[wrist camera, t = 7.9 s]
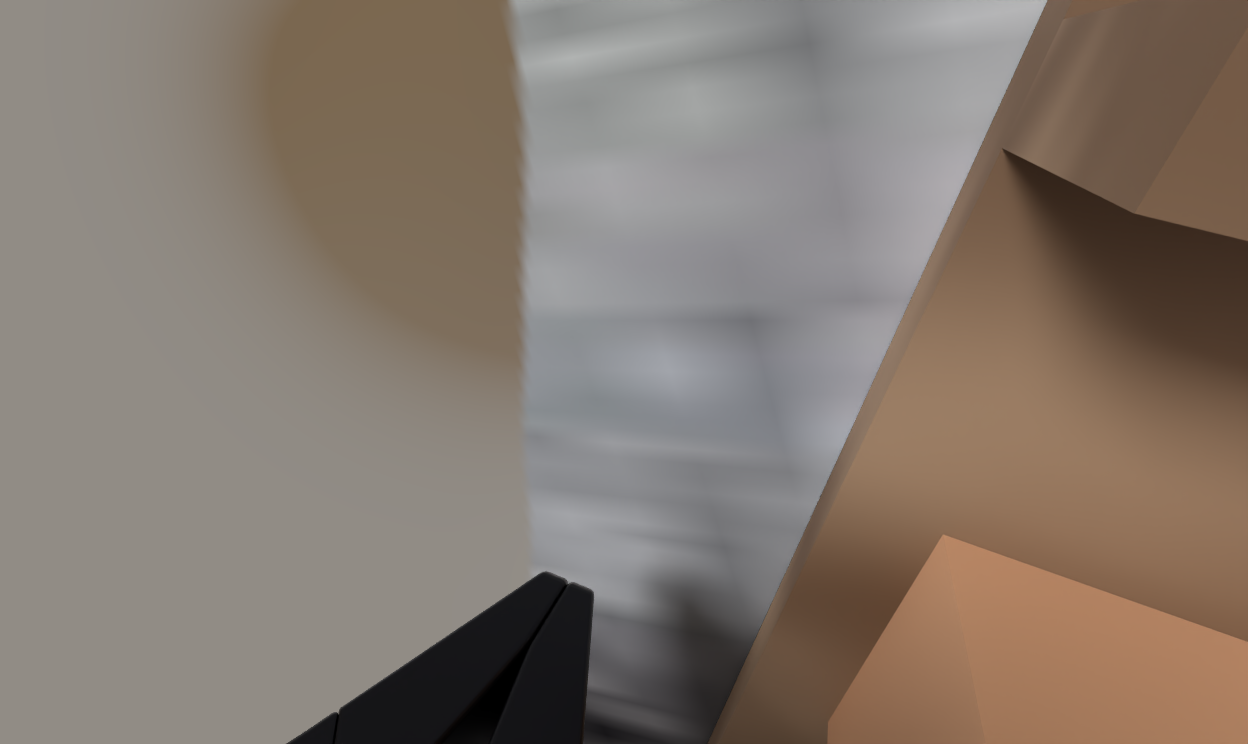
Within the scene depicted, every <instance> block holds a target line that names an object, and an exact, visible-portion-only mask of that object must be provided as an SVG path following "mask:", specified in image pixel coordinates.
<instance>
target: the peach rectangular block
mask: <svg viewBox="0 0 1248 744" xmlns="http://www.w3.org/2000/svg"><path fill="white" fill-rule="evenodd" d="M827 744H1248V642H1247V641H1244V640H1241V639H1238V638H1235V637H1232V636H1230V635H1227V634H1224V633H1221V632H1218V631H1215V630H1213V629H1210V628H1207V627H1204V626H1201V625H1198V624H1196V623H1193V622H1190V621H1187V620H1184V619H1181V618H1179V617H1176V616H1173V615H1170V614H1167V613H1164V612H1162V611H1159V610H1156V609H1153V608H1150V607H1147V606H1145V605H1142V604H1139V603H1136V602H1133V601H1130V600H1128V599H1125V598H1122V597H1119V596H1116V595H1113V594H1110V593H1108V592H1105V591H1102V590H1099V589H1096V588H1093V587H1091V586H1088V585H1085V584H1082V583H1079V582H1076V581H1074V580H1071V579H1068V578H1065V577H1062V576H1059V575H1057V574H1054V573H1051V572H1048V571H1045V570H1042V569H1040V568H1037V567H1034V566H1031V565H1028V564H1025V563H1023V562H1020V561H1017V560H1014V559H1011V558H1008V557H1006V556H1003V555H1000V554H997V553H994V552H991V551H989V550H986V549H983V548H980V547H977V546H974V545H972V544H969V543H966V542H963V541H960V540H957V539H955V538H952V537H949V536H946V535H942V537H941V538H940V540H939V542H938V543H937V545H936V547H935V548H934V550H933V552H932V553H931V555H930V556H929V558H928V560H927V561H926V563H925V565H924V566H923V568H922V569H921V571H920V573H919V574H918V576H917V578H916V579H915V581H914V583H913V584H912V586H911V587H910V589H909V591H908V592H907V594H906V596H905V597H904V599H903V600H902V602H901V604H900V605H899V607H898V609H897V610H896V612H895V614H894V615H893V617H892V618H891V620H890V622H889V623H888V625H887V627H886V628H885V630H884V631H883V633H882V635H881V636H880V638H879V640H878V641H877V643H876V645H875V646H874V648H873V649H872V651H871V653H870V654H869V656H868V658H867V659H866V661H865V662H864V664H863V666H862V667H861V669H860V671H859V672H858V674H857V676H856V677H855V679H854V680H853V682H852V684H851V685H850V687H849V689H848V690H847V692H846V693H845V695H844V697H843V698H842V700H841V702H840V703H839V705H838V707H837V708H836V710H835V711H834V713H833V715H832V716H831V718H830V720H829V721H828V739H827Z"/></svg>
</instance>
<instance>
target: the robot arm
mask: <svg viewBox="0 0 1248 744" xmlns="http://www.w3.org/2000/svg"><path fill="white" fill-rule="evenodd" d="M593 604H594V592H593V591H592V590H591V589H589V588H586V587H584V586H582V585H579V584H577V583H574V582H571V583H569V584H568V581H567V580H566V579H565V578H562V577H560V576H557V575H555V574H553V573H550V572H547V571H546V572H542V573H540V574H538V575H537V576H535V577H534V578H532V579H531V580H529V581H528V582H526V583H525V584H524V585H522V586H521V587H519V588H518V589H516V590H515V591H513V592H512V593H510V594H509V595H507V596H506V597H504V598H503V599H501V600H500V601H498V602H497V603H495V604H494V605H492V606H491V607H490V608H488V609H486V610H485V611H483V612H482V613H481V614H479V615H478V616H476V617H475V618H473V619H472V620H470V621H469V622H467V623H466V624H464V625H463V626H461V627H460V628H458V629H457V630H455V631H454V632H452V633H451V634H449V635H448V636H447V637H445V638H444V639H442V640H441V641H439V642H438V643H436V644H435V645H433V646H432V647H430V648H429V649H427V650H426V651H424V652H423V653H422V654H420V655H418V656H417V657H415V658H414V659H412V660H411V661H409V662H408V663H406V664H405V665H404V666H402V667H400V668H399V669H398V670H396V671H395V672H393V673H392V674H390V675H389V676H387V677H386V678H384V679H383V680H381V681H380V682H378V683H377V684H376V685H374V686H372V687H371V688H369V689H368V690H366V691H365V692H364V693H362V694H360V695H359V696H358V697H356V698H355V699H353V700H352V701H350V702H349V703H347V704H346V705H344V706H343V707H341V708H340V710H339V714H338V713H337V712H334V713H332V714H330V715H329V716H327V717H326V718H324V719H323V720H322V721H320V722H319V723H317V724H316V725H314V726H313V727H311V728H310V729H308V730H307V731H305V732H304V733H302V734H301V735H299V736H298V737H296V738H294V739H293V740H291V741H290V742H288V743H287V744H583V735H584V722H585V709H586V696H587V683H588V670H589V656H590V643H591V630H592V617H593Z"/></svg>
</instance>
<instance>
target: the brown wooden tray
mask: <svg viewBox="0 0 1248 744" xmlns="http://www.w3.org/2000/svg"><path fill="white" fill-rule="evenodd" d="M942 535H946V536H949V537H952V538H955V539H957V540H960V541H963V542H966V543H969V544H972V545H974V546H977V547H980V548H983V549H986V550H989V551H991V552H994V553H997V554H1000V555H1003V556H1006V557H1008V558H1011V559H1014V560H1017V561H1020V562H1023V563H1025V564H1028V565H1031V566H1034V567H1037V568H1040V569H1042V570H1045V571H1048V572H1051V573H1054V574H1057V575H1059V576H1062V577H1065V578H1068V579H1071V580H1074V581H1076V582H1079V583H1082V584H1085V585H1088V586H1091V587H1093V588H1096V589H1099V590H1102V591H1105V592H1108V593H1110V594H1113V595H1116V596H1119V597H1122V598H1125V599H1128V600H1130V601H1133V602H1136V603H1139V604H1142V605H1145V606H1147V607H1150V608H1153V609H1156V610H1159V611H1162V612H1164V613H1167V614H1170V615H1173V616H1176V617H1179V618H1181V619H1184V620H1187V621H1190V622H1193V623H1196V624H1198V625H1201V626H1204V627H1207V628H1210V629H1213V630H1215V631H1218V632H1221V633H1224V634H1227V635H1230V636H1232V637H1235V638H1238V639H1241V640H1244V641H1247V642H1248V0H1048V1H1047V3H1046V5H1045V7H1044V10H1043V12H1042V14H1041V16H1040V18H1039V21H1038V23H1037V25H1036V27H1035V29H1034V31H1033V34H1032V36H1031V38H1030V40H1029V42H1028V45H1027V47H1026V49H1025V51H1024V53H1023V55H1022V58H1021V60H1020V62H1019V64H1018V66H1017V69H1016V71H1015V73H1014V75H1013V77H1012V80H1011V82H1010V84H1009V86H1008V88H1007V90H1006V93H1005V95H1004V97H1003V99H1002V101H1001V104H1000V106H999V108H998V110H997V112H996V114H995V117H994V119H993V121H992V123H991V125H990V128H989V130H988V132H987V134H986V136H985V138H984V141H983V143H982V145H981V147H980V149H979V152H978V154H977V156H976V158H975V160H974V162H973V165H972V167H971V169H970V171H969V173H968V176H967V178H966V180H965V182H964V184H963V187H962V189H961V191H960V193H959V195H958V197H957V200H956V202H955V204H954V206H953V208H952V211H951V213H950V215H949V217H948V219H947V221H946V224H945V226H944V228H943V230H942V232H941V235H940V237H939V239H938V241H937V243H936V245H935V248H934V250H933V252H932V254H931V256H930V259H929V261H928V263H927V265H926V267H925V270H924V272H923V274H922V276H921V278H920V280H919V283H918V285H917V287H916V289H915V291H914V294H913V296H912V298H911V300H910V302H909V304H908V307H907V309H906V311H905V313H904V315H903V318H902V320H901V322H900V324H899V326H898V328H897V331H896V333H895V335H894V337H893V339H892V342H891V344H890V346H889V348H888V350H887V352H886V355H885V357H884V359H883V361H882V363H881V366H880V368H879V370H878V372H877V374H876V377H875V379H874V381H873V383H872V385H871V387H870V390H869V392H868V394H867V396H866V398H865V401H864V403H863V405H862V407H861V409H860V411H859V414H858V416H857V418H856V420H855V422H854V425H853V427H852V429H851V431H850V433H849V435H848V438H847V440H846V442H845V444H844V446H843V449H842V451H841V453H840V455H839V457H838V460H837V462H836V464H835V466H834V468H833V470H832V473H831V475H830V477H829V479H828V481H827V484H826V486H825V488H824V490H823V492H822V494H821V497H820V499H819V501H818V503H817V505H816V508H815V510H814V512H813V514H812V516H811V518H810V521H809V523H808V525H807V527H806V529H805V532H804V534H803V536H802V538H801V540H800V542H799V545H798V547H797V549H796V551H795V553H794V556H793V558H792V560H791V562H790V564H789V567H788V569H787V571H786V573H785V575H784V577H783V580H782V582H781V584H780V586H779V588H778V591H777V593H776V595H775V597H774V599H773V601H772V604H771V606H770V608H769V610H768V612H767V615H766V617H765V619H764V621H763V623H762V625H761V628H760V630H759V632H758V634H757V636H756V639H755V641H754V643H753V645H752V647H751V650H750V652H749V654H748V656H747V658H746V660H745V663H744V665H743V667H742V669H741V671H740V674H739V676H738V678H737V680H736V682H735V684H734V687H733V689H732V691H731V693H730V695H729V698H728V700H727V702H726V704H725V706H724V708H723V711H722V713H721V715H720V717H719V719H718V722H717V724H716V726H715V728H714V730H713V732H712V735H711V737H710V739H709V741H708V743H707V744H827V739H828V721H829V720H830V718H831V716H832V715H833V713H834V711H835V710H836V708H837V707H838V705H839V703H840V702H841V700H842V698H843V697H844V695H845V693H846V692H847V690H848V689H849V687H850V685H851V684H852V682H853V680H854V679H855V677H856V676H857V674H858V672H859V671H860V669H861V667H862V666H863V664H864V662H865V661H866V659H867V658H868V656H869V654H870V653H871V651H872V649H873V648H874V646H875V645H876V643H877V641H878V640H879V638H880V636H881V635H882V633H883V631H884V630H885V628H886V627H887V625H888V623H889V622H890V620H891V618H892V617H893V615H894V614H895V612H896V610H897V609H898V607H899V605H900V604H901V602H902V600H903V599H904V597H905V596H906V594H907V592H908V591H909V589H910V587H911V586H912V584H913V583H914V581H915V579H916V578H917V576H918V574H919V573H920V571H921V569H922V568H923V566H924V565H925V563H926V561H927V560H928V558H929V556H930V555H931V553H932V552H933V550H934V548H935V547H936V545H937V543H938V542H939V540H940V538H941V537H942Z"/></svg>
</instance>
